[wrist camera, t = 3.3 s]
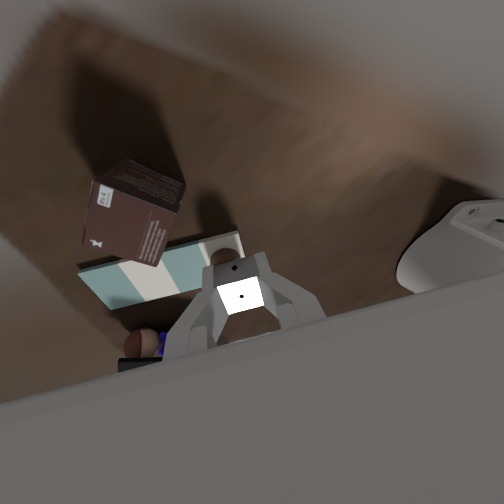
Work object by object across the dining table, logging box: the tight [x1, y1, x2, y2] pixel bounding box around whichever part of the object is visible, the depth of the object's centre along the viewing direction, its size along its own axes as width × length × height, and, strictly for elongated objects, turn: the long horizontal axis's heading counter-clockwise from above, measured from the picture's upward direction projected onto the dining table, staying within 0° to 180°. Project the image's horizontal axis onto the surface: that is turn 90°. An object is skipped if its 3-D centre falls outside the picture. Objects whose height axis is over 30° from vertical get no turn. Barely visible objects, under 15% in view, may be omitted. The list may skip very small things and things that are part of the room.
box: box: [82, 159, 186, 267], centre depth 20 cm, size 6×6×7 cm
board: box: [78, 230, 245, 310], centre depth 29 cm, size 20×7×1 cm, turn 101°
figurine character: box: [118, 328, 229, 373], centre depth 34 cm, size 7×8×15 cm
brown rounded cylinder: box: [210, 248, 241, 265], centre depth 25 cm, size 4×4×8 cm
